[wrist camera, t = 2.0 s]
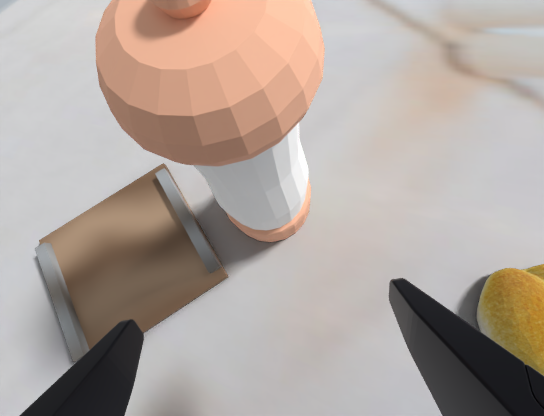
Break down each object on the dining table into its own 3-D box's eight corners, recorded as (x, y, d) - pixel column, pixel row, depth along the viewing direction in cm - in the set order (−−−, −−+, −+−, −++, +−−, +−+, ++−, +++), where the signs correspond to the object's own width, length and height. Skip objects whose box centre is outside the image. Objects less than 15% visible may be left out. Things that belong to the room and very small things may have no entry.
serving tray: (228, 276, 23) (224, 276, 21) (89, 369, 22) (77, 374, 21) (165, 165, 26) (159, 160, 25) (43, 241, 25) (31, 239, 24)
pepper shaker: (263, 259, 23) (108, 181, 4) (217, 199, 25) (-28, -31, 6) (326, 207, 23) (423, -53, 5) (275, 152, 25) (210, -181, 7)
